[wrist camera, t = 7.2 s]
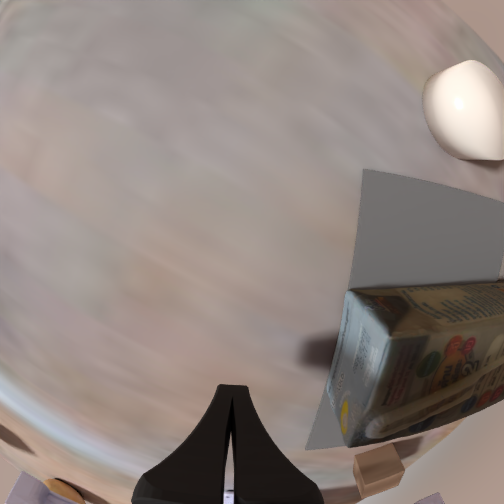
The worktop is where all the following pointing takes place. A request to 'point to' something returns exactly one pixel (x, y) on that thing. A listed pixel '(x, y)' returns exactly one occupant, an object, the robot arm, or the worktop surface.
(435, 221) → the mat
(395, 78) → the worktop surface
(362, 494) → the walnut block
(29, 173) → the worktop surface
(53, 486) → the onion
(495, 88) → the cream egg shape
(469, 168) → the worktop surface
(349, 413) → the beverage carton
